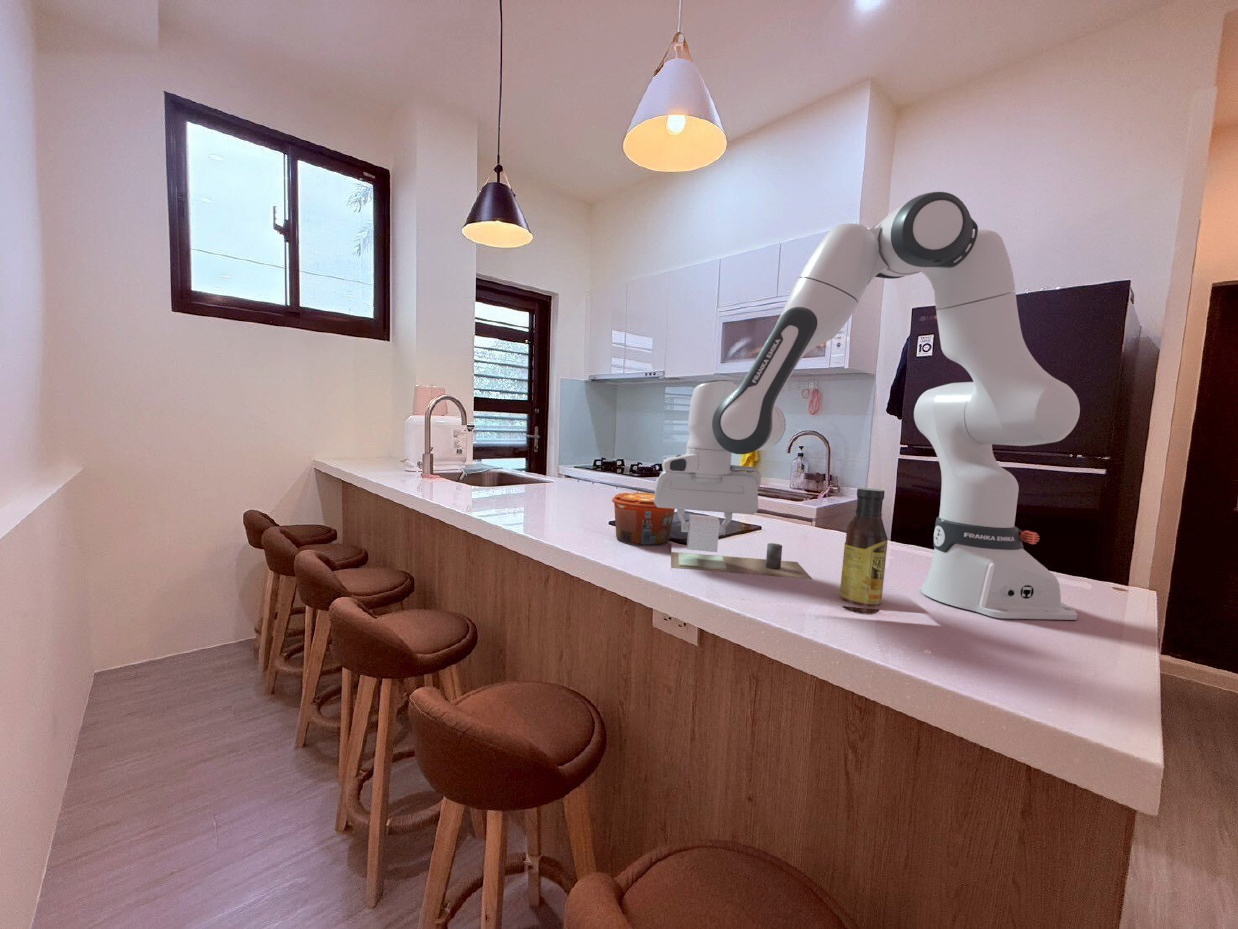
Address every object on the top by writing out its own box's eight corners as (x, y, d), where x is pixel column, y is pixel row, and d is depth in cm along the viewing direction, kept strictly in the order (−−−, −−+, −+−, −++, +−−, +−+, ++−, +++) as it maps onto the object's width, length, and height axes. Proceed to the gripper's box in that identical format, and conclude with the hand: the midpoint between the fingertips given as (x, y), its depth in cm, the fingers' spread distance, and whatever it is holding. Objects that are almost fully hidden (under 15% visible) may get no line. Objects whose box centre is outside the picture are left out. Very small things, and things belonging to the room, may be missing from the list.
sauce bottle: (876, 619, 81) (888, 493, 79) (834, 608, 84) (845, 488, 83) (884, 608, 86) (895, 489, 84) (844, 599, 90) (854, 485, 88)
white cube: (714, 545, 105) (717, 516, 105) (717, 552, 100) (719, 521, 99) (686, 543, 106) (689, 514, 105) (687, 549, 100) (690, 518, 100)
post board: (796, 568, 107) (798, 540, 107) (811, 586, 95) (814, 555, 95) (671, 558, 110) (672, 531, 109) (670, 575, 98) (672, 544, 97)
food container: (686, 540, 129) (689, 497, 128) (654, 552, 115) (657, 504, 115) (632, 530, 137) (634, 490, 137) (596, 539, 124) (599, 495, 123)
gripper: (759, 466, 104) (753, 533, 105) (657, 459, 105) (652, 526, 107) (764, 468, 97) (758, 540, 98) (656, 461, 99) (651, 532, 100)
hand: (702, 533), depth 102 cm, fingers closed on white cube, 6 cm apart
